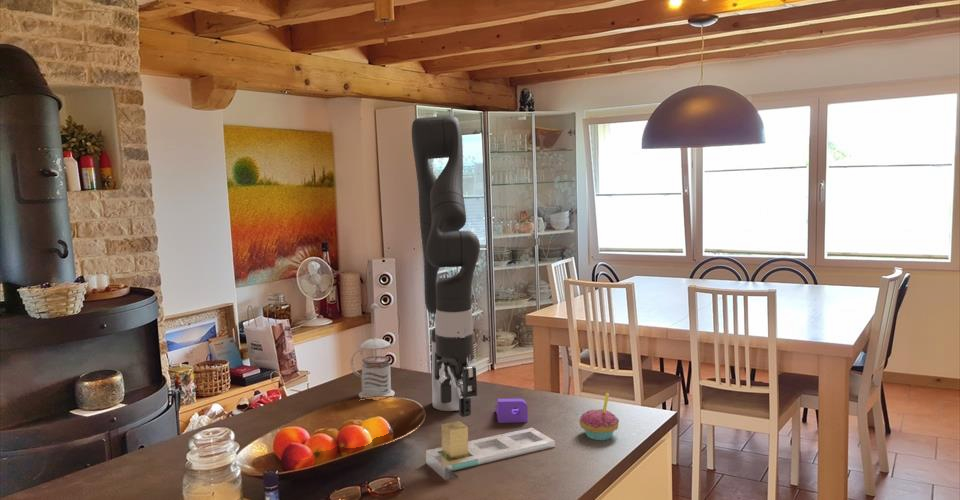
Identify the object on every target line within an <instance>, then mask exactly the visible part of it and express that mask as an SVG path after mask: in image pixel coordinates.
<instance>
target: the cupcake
mask: <svg viewBox="0 0 960 500" xmlns="http://www.w3.org/2000/svg"><path fill="white" fill-rule="evenodd" d="M609 392H610V390H607V392H606V393H605V396H604V402H603V407H602V408H599V409H590V410H587V411H585V412H583V414H582V415H581V416H580V418H579V425H580V428H581V429H582V430H584V432H585V435H586V436H587V438H589V439H592V440H595V441H604V440H605V441H606V440H609V439H611V438H612V437H613V435H614V434H613V433H614V431H616V430H618V428H619V421H620V419H619V418H618V417H617V416H616V414H614V413H612V412H611V411H609V410H607V407H608V402H609V401H608V400H609V395H610V394H609Z"/></svg>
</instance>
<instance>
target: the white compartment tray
mask: <svg viewBox="0 0 960 500" xmlns="http://www.w3.org/2000/svg"><path fill="white" fill-rule="evenodd" d="M551 448H556V441H555V440H554V439H553V438H550V437H549V436H547V435H546V434H544V433H542V432H540V431H538V430H537V429H535V428H533V427H529V428H525V429H519V430H515V431H510V432H505V433H502V434H497V435H492V436H487V437H486V436H485V437H481V438H479V439H473V440H468V457H466V458H462V459H457V460H453V461H447V460H446V459H445V458H444V457H443V456H442V446H441V447H436V448H432V449H431V448H429V449H426V450H425V463H426V465H428V467H430V468H431V469H432V470H433V471H434V472H436V473H437V474H438V476H440V477H441V478H442V479H443V480H450V479H454V478H457V477H458V478H459V476H458V475H457V474H456V473H455V472H454V471H457V470H462V469H467V468H471V467H476V466H479V465H484V464H487V463H491V462H495V461H499V460H504V459H509V458H513V457H517V456H520V455H525V454H530V453H533V452H538V451H539V452H540V451H542V450H547V449H551Z"/></svg>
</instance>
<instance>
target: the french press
mask: <svg viewBox="0 0 960 500" xmlns="http://www.w3.org/2000/svg"><path fill="white" fill-rule="evenodd" d="M370 308H371V309H373V320H374V323H373V324H374V325H373V326H374V327H376V309H377V308H379V305H378V304H377V303H371V305H370ZM376 333H377V332H374V338H369V339H368V340H366V341H364V342H362V343H361V344H360V349H359V348H358V350H356V351H355V352H354V353H353V354H352V356H351V359H350V367H351V368H350V369H351V370H352V372H353V374H354V375H356V376H357V377H359V378H360V380H361V381H360V383H361V391H360V392H359V393H358V397H359V398H360V399H362V397H374V396H392V397H394V395H395V393H396V392H395V391H394V390H393V389H392V383H391V381H392V379H391V376H392V375H391V363H390V362H389V361H390V358H389V357H388V356H385V355H377V350H385V349H387V348H390V347H391V343H390V342H389V341H387V340H385V339H382V338H377V337H376V335H377V334H376ZM363 349H364V350H367V351H370V350H373V351H374V355H372V356H371V355H370V356H366V357H364V358H363V359H362V365H361V373H359V372H357V370H356V369H355V367H354V357H355V355H356V354H357V353H360V356H362V355H363ZM372 366H373V367H372ZM378 366H380V367H378ZM370 367H371V368H370ZM382 377H383V378H382Z"/></svg>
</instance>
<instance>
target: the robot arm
mask: <svg viewBox="0 0 960 500" xmlns="http://www.w3.org/2000/svg"><path fill="white" fill-rule="evenodd" d="M461 127H462V126H461V123H460V120H459V118H457V117H456V116H453V115H443V116H441V115H440V116H427V117H419V118H418V117H417V118H415V119H414V120H413V121H412V124H411V143H412V149H413V159H414V165H415V171H416V172H415V173H416V181H417V190H418V208H419V211H418V212H419V224H420V236H421V237H420V238H421V245H422V252H423V253H422V254H423V271H424V272H423V274H424V275H423V277H424V281H423V282H424V302H425V307H426V310H427V312H428V313H429V314H433V315H435V317H434V318H435V319H434V320H435V321H434V328H433V329H432V330H431V333H430V334H431V335H430V336H431V337H430V338H431V387H432V388H431V389H432V391H431V394H432V398H431V399H432V400H431V401H432V407H433V408H434V409H435V410H437V411H442V412H454V411H456V412H457V411H458V414H459V416H460V417H461V418H465V417H469V416H471V413H472V412H471V411H472V410H471V409H472V405H471V404H472V403H471V402H472V401H471V398H475V397H477V396H478V385H477V383H478V382H477V368H476V366H475V365H473V366H469V356H471V355H473V354H474V353H473V352H474V318H473V313H472V311H473V310H472V286H473V285H472V284H473V279H474V275H475V274H474V273H475V270H476V266H477V263H478V260H479V255H480V249H481V244H480V240H479V237H478V236H477V235H476V234H475V232H473V231H470V230H461V229H463V228H464V227H465V225H466V222H467V213H466V205H465V199H464V198H465V197H464V189H463V181H464V180H463V176H464V175H463V173H464V155H463V154H464V151H463V149H464V147H463V134H462V128H461ZM447 158H448V161H447V162H446V163H445V166H444V168H443V169H442V171H441V172H440V174H439V175H438V176H436V175H435V173H434V172H433V170H432V168H431V165H430V161H429V160H432V159H433V160H434V159H447ZM441 268H460V270H459V271H458V273H457V274H456V275H453V276H450V277H438V273H439V270H440V269H441Z"/></svg>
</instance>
